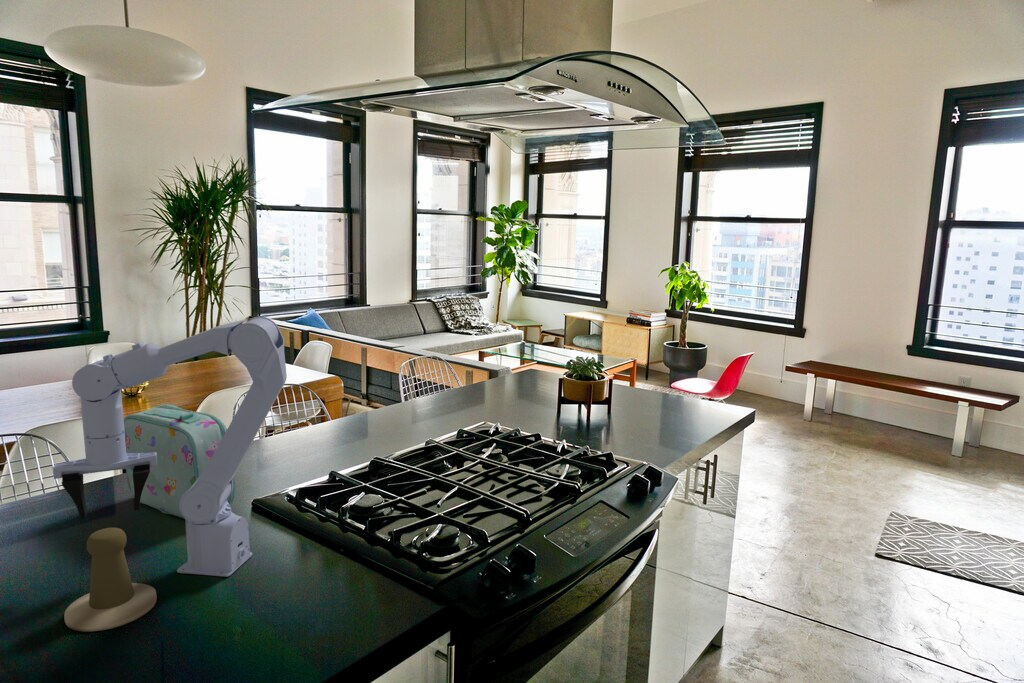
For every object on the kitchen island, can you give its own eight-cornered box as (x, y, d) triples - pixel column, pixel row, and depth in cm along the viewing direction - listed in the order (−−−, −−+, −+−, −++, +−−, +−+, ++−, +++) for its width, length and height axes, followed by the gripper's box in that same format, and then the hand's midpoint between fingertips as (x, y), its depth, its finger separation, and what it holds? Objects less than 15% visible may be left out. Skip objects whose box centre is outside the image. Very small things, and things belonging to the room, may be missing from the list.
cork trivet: (173, 590, 106) (173, 586, 105) (120, 634, 94) (119, 629, 94) (105, 584, 107) (104, 580, 107) (44, 627, 95) (43, 622, 95)
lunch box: (246, 511, 136) (241, 410, 133) (202, 530, 127) (195, 423, 124) (167, 486, 149) (160, 394, 146) (121, 502, 140) (113, 404, 137)
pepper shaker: (123, 584, 106) (117, 519, 104) (141, 596, 102) (136, 529, 101) (81, 600, 101) (75, 533, 99) (99, 613, 98) (93, 544, 96)
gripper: (155, 422, 115) (160, 496, 117) (54, 432, 108) (62, 510, 110) (154, 433, 109) (159, 511, 111) (48, 444, 102) (55, 527, 104)
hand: (110, 512), depth 110 cm, fingers open, 7 cm apart
